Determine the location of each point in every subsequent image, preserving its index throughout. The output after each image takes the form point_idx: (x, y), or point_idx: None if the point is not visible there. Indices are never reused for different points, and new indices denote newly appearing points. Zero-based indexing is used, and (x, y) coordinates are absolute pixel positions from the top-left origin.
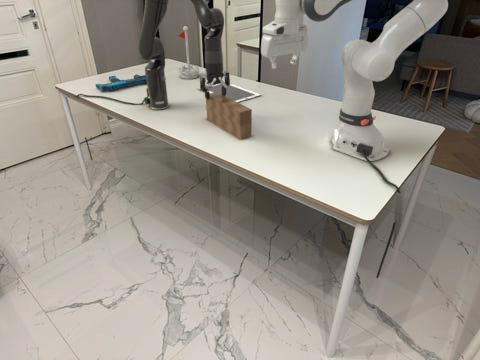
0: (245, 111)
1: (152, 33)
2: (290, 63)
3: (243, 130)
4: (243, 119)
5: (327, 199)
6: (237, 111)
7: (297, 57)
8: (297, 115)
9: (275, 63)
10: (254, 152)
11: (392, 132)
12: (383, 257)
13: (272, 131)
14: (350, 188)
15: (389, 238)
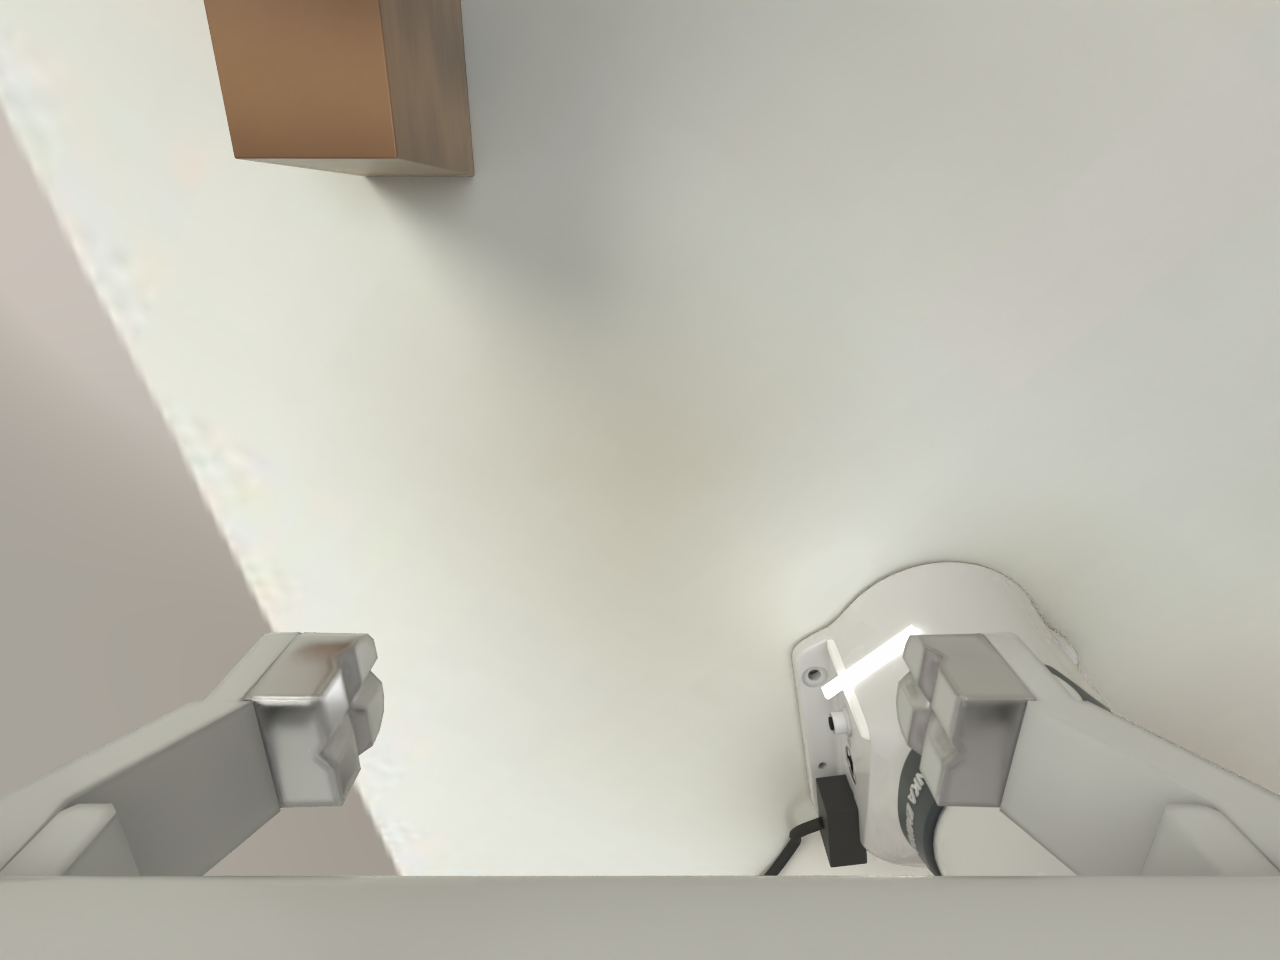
0: (307, 159)
1: None
2: (915, 637)
3: (366, 171)
4: (319, 164)
5: (424, 875)
6: (224, 93)
7: (1105, 865)
8: (1117, 67)
9: (247, 821)
10: (357, 408)
11: (1260, 701)
12: None
13: (674, 214)
14: None
15: None
